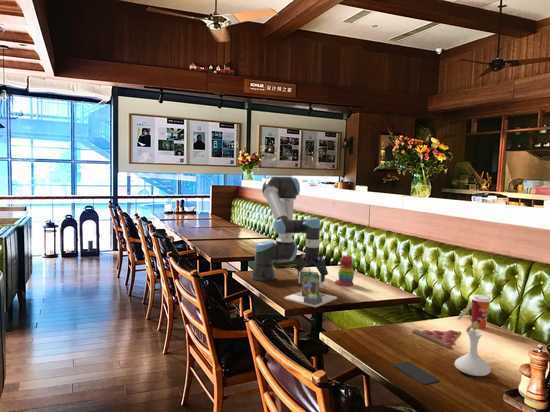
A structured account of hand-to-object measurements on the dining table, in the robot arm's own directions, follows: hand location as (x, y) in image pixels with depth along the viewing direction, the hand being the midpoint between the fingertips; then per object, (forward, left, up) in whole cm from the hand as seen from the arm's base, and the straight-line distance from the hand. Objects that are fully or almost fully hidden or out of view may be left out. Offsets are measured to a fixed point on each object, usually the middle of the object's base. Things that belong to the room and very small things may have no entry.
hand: (310, 284), depth 229 cm
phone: (+77, -50, -7) cm, 92 cm away
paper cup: (+82, +15, -7) cm, 84 cm away
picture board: (+3, -4, -6) cm, 8 cm away
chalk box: (0, 0, -5) cm, 5 cm away
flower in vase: (+91, -36, -7) cm, 98 cm away
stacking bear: (+1, +37, -7) cm, 38 cm away
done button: (+9, -11, -4) cm, 15 cm away
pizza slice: (+74, -8, -7) cm, 75 cm away
